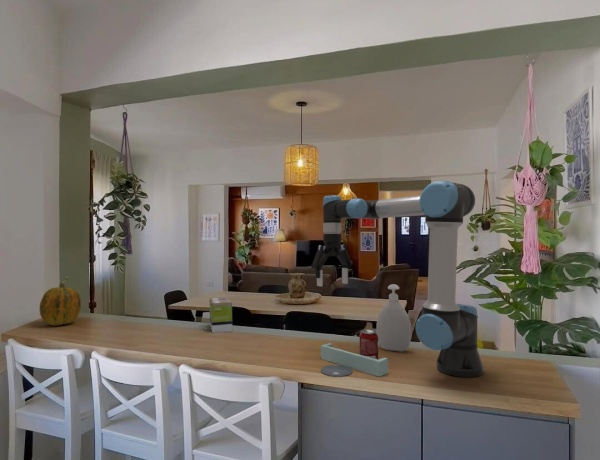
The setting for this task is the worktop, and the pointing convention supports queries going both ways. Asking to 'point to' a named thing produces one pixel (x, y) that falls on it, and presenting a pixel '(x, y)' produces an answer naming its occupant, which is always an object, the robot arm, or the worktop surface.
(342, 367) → the coaster
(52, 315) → the pumpkin
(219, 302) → the tea box
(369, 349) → the soda can
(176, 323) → the worktop surface
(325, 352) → the divider
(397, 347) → the soap bottle
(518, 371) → the worktop surface
